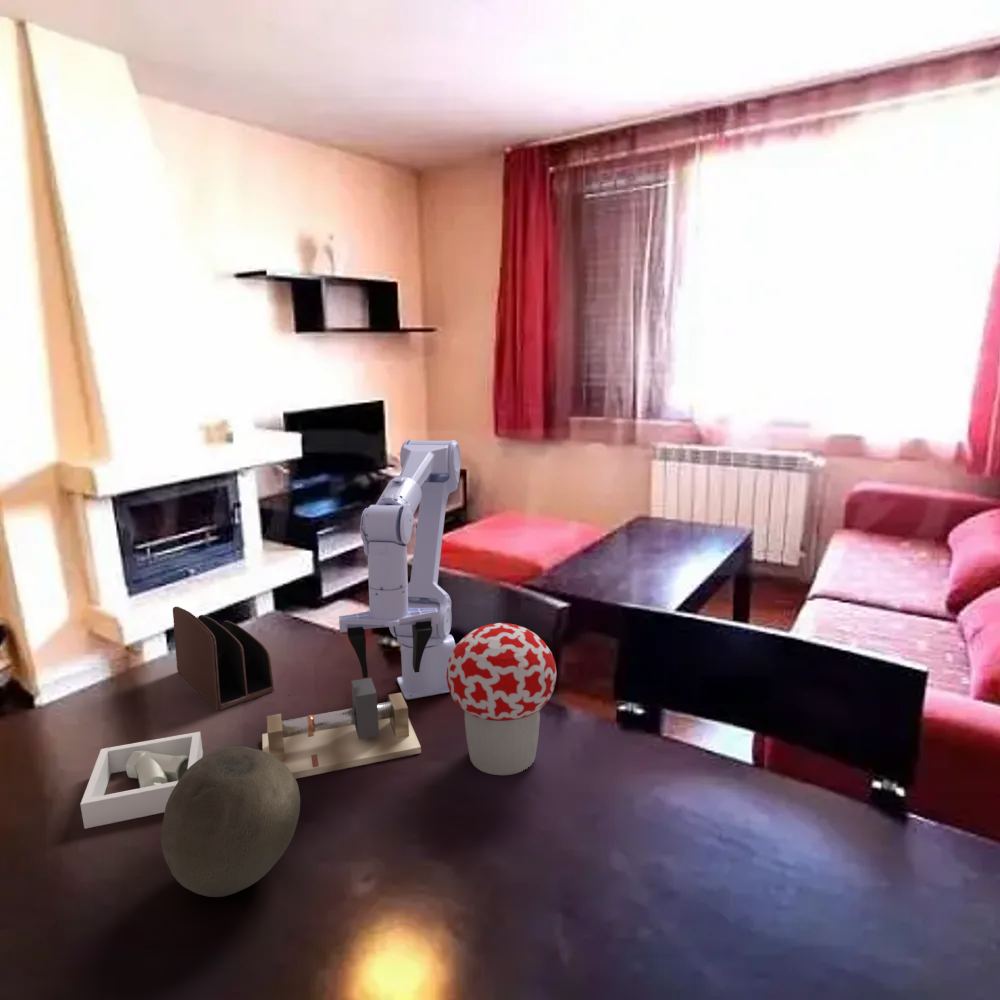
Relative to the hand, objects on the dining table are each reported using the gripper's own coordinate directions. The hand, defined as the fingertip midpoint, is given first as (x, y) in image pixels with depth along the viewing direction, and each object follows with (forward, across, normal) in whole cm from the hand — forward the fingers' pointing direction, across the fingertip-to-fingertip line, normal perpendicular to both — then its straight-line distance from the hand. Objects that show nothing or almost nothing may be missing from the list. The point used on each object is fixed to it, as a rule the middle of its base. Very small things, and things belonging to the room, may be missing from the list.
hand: (390, 672), depth 105 cm
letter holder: (+10, -27, +28) cm, 40 cm away
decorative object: (+11, +15, -9) cm, 21 cm away
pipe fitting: (+12, -33, -2) cm, 35 cm away
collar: (+9, -4, 0) cm, 9 cm away
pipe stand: (+11, -8, 0) cm, 13 cm away
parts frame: (+12, -34, -3) cm, 36 cm away
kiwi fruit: (+13, -20, -24) cm, 34 cm away
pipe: (+8, -8, 0) cm, 11 cm away
